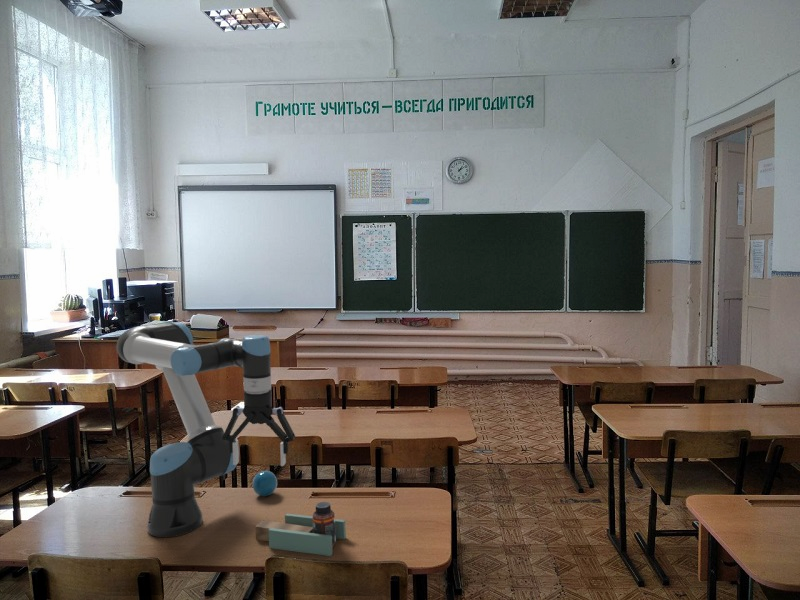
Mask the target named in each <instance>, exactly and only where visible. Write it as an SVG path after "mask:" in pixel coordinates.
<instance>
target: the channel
mask: <svg viewBox="0 0 800 600" xmlns="http://www.w3.org/2000/svg"><path fill="white" fill-rule="evenodd" d="M284 523H286V524H294V525H301V526H308V527H313V515H303V514H294V513H286V514H285V515H284ZM268 531H269V541H268V544H269V545H268V548H269V549H274V550H283V551H289V552H298V553H305V554H311V555H312V554H313V555H319V556H327V557H331V556H332V555H333V554H334V553H333V547H332V536H331V535H323V534H315V533H307V532H299V531H291V530H283V529H275V528H270V529H269V530H268ZM346 532H347V531H346V520H345V519H341V518H340V519H338V518H335V536H336V540H337V539H338V540H345V539H346V537H347V536H346V535H347V533H346Z"/></svg>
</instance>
